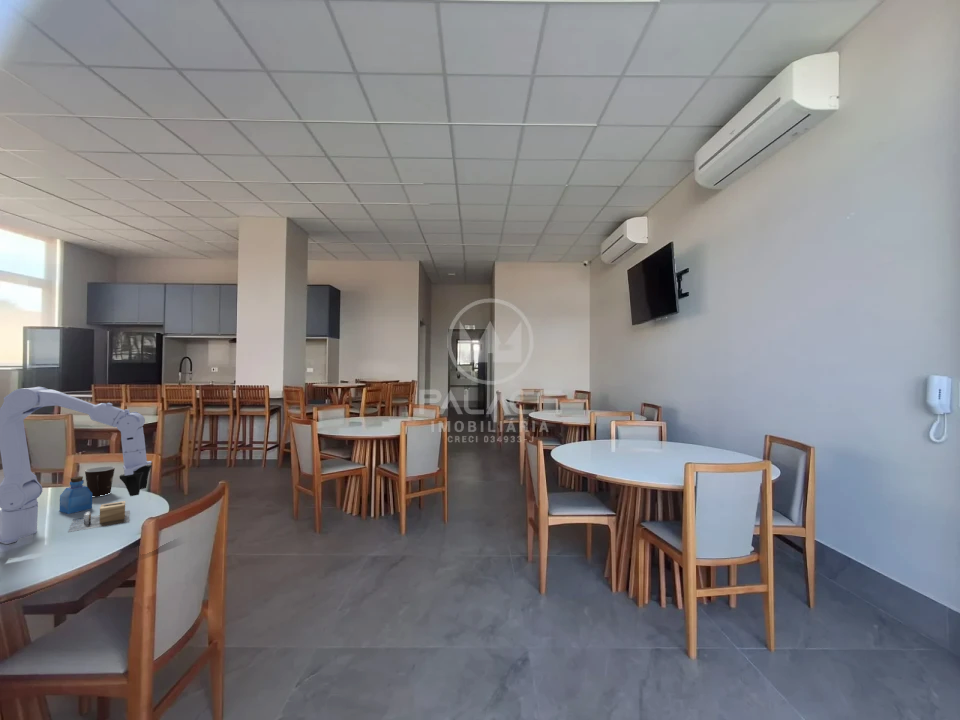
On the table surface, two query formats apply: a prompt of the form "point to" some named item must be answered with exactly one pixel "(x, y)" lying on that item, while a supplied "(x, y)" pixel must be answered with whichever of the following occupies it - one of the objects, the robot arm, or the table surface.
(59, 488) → the table surface
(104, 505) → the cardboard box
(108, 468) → the coffee mug
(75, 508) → the perfume bottle
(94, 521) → the hub plate
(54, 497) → the table surface
